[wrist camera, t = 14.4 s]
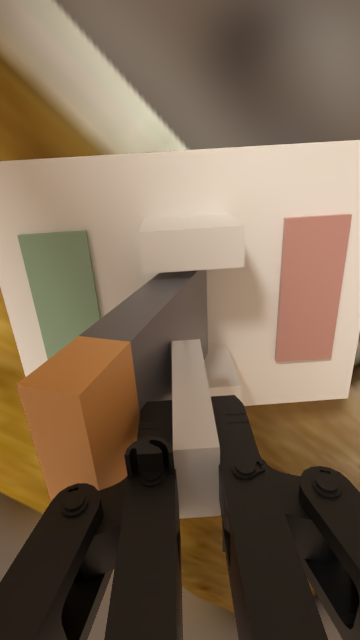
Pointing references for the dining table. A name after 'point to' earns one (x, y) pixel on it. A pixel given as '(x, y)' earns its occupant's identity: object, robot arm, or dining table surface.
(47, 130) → the dining table surface
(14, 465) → the dining table surface
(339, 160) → the box
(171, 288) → the breaker lever
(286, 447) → the dining table surface
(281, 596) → the robot arm
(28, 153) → the dining table surface
